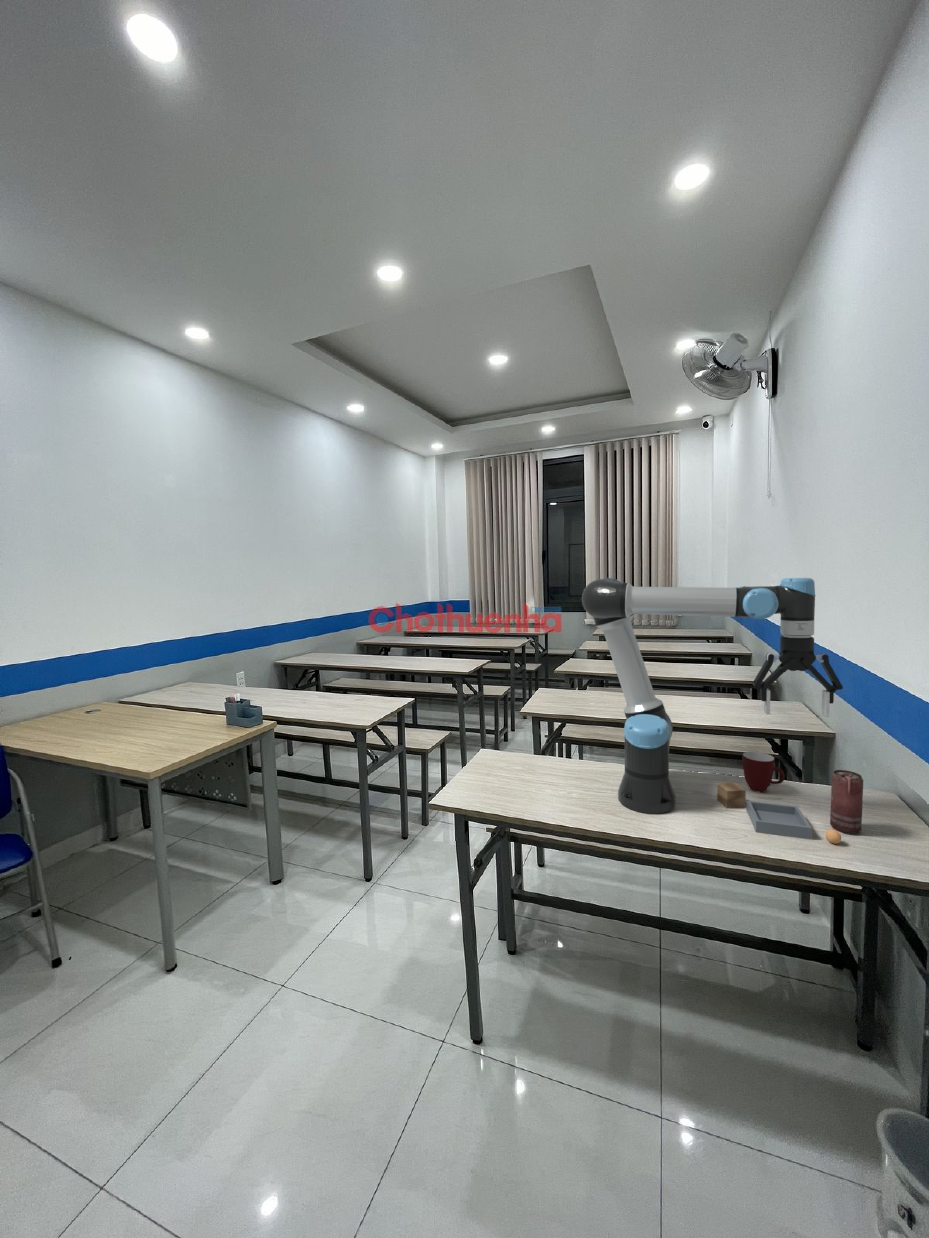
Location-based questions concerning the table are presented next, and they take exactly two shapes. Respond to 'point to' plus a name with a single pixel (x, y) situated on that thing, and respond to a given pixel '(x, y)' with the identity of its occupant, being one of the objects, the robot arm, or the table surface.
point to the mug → (760, 770)
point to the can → (846, 802)
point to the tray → (778, 819)
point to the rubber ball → (833, 836)
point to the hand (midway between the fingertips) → (795, 714)
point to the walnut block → (731, 795)
